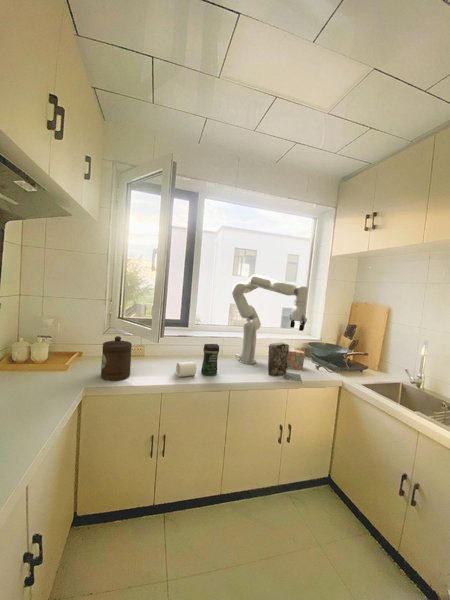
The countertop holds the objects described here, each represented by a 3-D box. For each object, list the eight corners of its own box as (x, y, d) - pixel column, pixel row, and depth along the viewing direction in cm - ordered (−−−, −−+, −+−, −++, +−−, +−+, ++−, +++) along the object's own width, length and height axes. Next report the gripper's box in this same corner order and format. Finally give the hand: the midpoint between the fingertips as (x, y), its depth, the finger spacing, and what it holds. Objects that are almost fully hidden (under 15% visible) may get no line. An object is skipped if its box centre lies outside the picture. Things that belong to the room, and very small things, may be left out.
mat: (283, 378, 161) (283, 377, 161) (283, 372, 173) (283, 371, 173) (301, 381, 159) (301, 380, 159) (300, 375, 171) (300, 374, 170)
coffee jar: (203, 376, 152) (206, 345, 151) (199, 371, 160) (202, 342, 158) (218, 375, 156) (221, 345, 155) (214, 370, 163) (216, 342, 162)
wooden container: (105, 370, 147) (108, 333, 146) (132, 371, 150) (135, 334, 148) (96, 380, 133) (99, 338, 131) (126, 381, 135) (129, 340, 133)
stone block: (279, 370, 175) (281, 341, 174) (287, 373, 169) (289, 343, 168) (266, 374, 166) (267, 343, 166) (274, 377, 161) (276, 345, 160)
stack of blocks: (272, 366, 185) (274, 349, 184) (271, 363, 191) (273, 347, 190) (302, 369, 183) (304, 352, 182) (300, 366, 189) (302, 350, 188)
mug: (196, 377, 150) (197, 364, 149) (179, 379, 145) (180, 365, 145) (189, 370, 160) (190, 357, 160) (173, 371, 156) (174, 358, 155)
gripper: (287, 302, 180) (284, 326, 182) (303, 305, 164) (300, 331, 166) (296, 303, 183) (293, 326, 185) (313, 306, 167) (309, 332, 169)
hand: (296, 329), depth 175 cm, fingers open, 9 cm apart
